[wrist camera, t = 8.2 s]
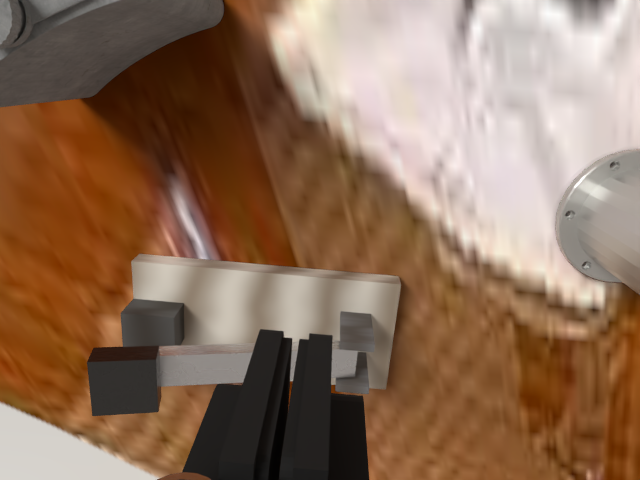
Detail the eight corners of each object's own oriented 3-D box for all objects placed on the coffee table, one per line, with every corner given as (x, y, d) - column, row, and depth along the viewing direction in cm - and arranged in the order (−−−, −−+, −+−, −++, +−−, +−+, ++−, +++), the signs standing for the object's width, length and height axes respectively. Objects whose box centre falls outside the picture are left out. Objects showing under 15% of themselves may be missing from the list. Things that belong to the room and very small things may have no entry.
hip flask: (79, 103, 44) (-118, 129, 25) (52, 61, 43) (-176, 53, 24) (231, 16, 41) (137, -30, 22) (206, -32, 40) (85, -124, 21)
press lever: (354, 330, 44) (365, 351, 41) (349, 376, 46) (359, 400, 43) (98, 337, 40) (87, 362, 37) (102, 388, 42) (92, 416, 38)
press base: (398, 276, 48) (408, 312, 41) (384, 377, 52) (391, 426, 45) (139, 253, 48) (104, 285, 41) (144, 356, 52) (114, 402, 45)
